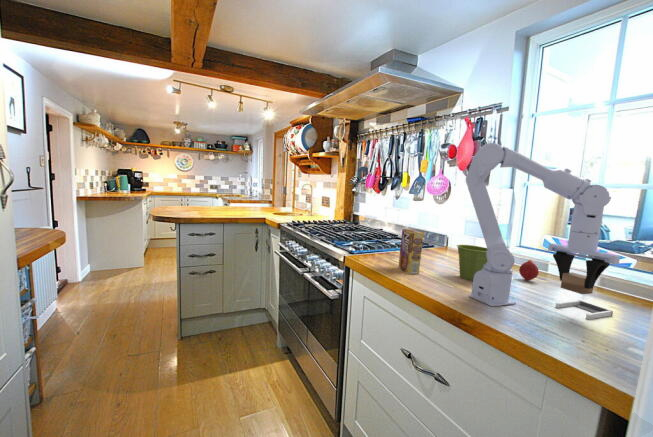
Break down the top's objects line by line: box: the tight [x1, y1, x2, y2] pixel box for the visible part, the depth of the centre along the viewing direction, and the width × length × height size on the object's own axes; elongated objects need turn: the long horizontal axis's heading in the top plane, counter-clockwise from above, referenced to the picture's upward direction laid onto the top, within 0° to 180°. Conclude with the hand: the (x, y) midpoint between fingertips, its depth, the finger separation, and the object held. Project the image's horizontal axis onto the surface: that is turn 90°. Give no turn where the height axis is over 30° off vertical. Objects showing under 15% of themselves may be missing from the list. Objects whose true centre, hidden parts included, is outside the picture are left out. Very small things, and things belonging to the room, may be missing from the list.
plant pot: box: [456, 244, 488, 282], centre depth 104 cm, size 12×12×11 cm
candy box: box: [397, 228, 425, 275], centre depth 109 cm, size 9×4×15 cm, turn 13°
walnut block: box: [560, 272, 594, 295], centre depth 76 cm, size 4×5×4 cm
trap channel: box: [554, 299, 614, 320], centre depth 80 cm, size 11×8×1 cm
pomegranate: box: [518, 258, 539, 282], centre depth 107 cm, size 6×6×8 cm
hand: (575, 284), depth 76 cm, fingers closed on walnut block, 5 cm apart
